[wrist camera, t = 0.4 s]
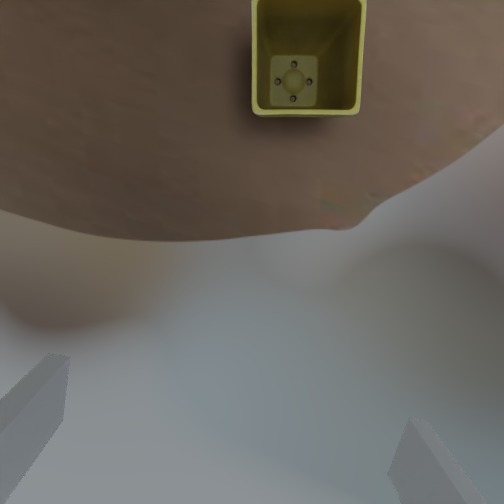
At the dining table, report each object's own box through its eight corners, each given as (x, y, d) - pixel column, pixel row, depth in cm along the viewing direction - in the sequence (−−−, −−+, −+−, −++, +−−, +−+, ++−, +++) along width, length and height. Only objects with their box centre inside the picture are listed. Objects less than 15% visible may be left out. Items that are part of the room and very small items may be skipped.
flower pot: (249, 127, 37) (251, 114, 28) (248, 35, 35) (251, -11, 26) (331, 127, 37) (360, 114, 28) (336, 36, 35) (368, -9, 26)
